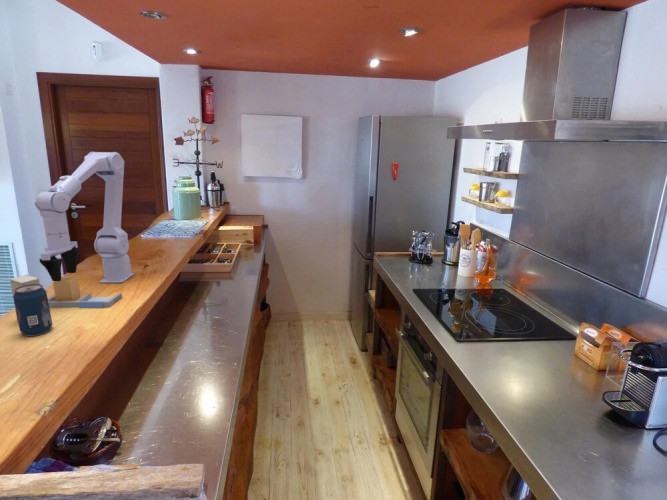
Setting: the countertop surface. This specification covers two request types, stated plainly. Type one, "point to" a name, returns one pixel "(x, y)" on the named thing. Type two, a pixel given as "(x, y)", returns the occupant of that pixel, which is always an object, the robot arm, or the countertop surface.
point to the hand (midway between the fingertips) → (64, 276)
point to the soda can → (32, 309)
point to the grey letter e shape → (86, 301)
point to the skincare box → (22, 282)
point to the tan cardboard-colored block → (67, 289)
